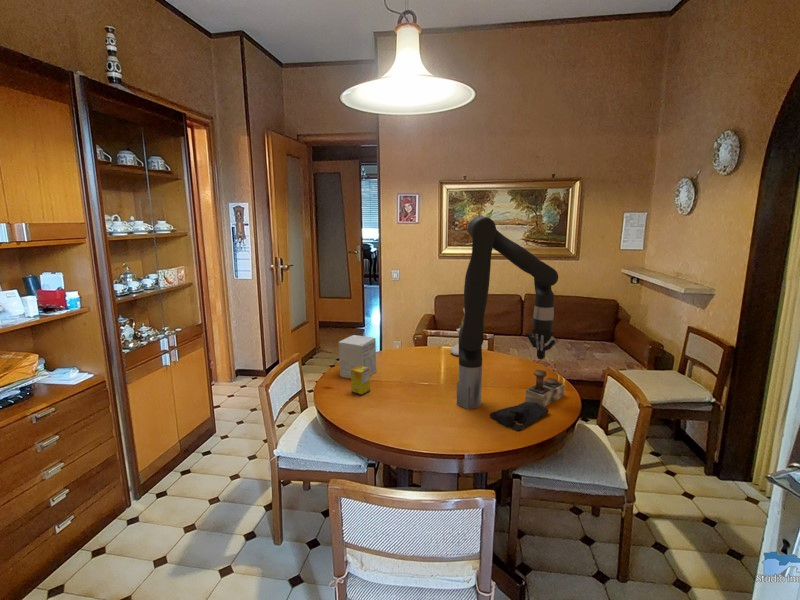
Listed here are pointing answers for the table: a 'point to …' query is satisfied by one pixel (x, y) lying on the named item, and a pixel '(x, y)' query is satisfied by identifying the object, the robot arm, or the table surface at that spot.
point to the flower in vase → (456, 348)
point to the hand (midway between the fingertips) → (540, 358)
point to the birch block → (545, 393)
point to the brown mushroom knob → (551, 381)
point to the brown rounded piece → (539, 377)
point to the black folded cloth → (519, 415)
